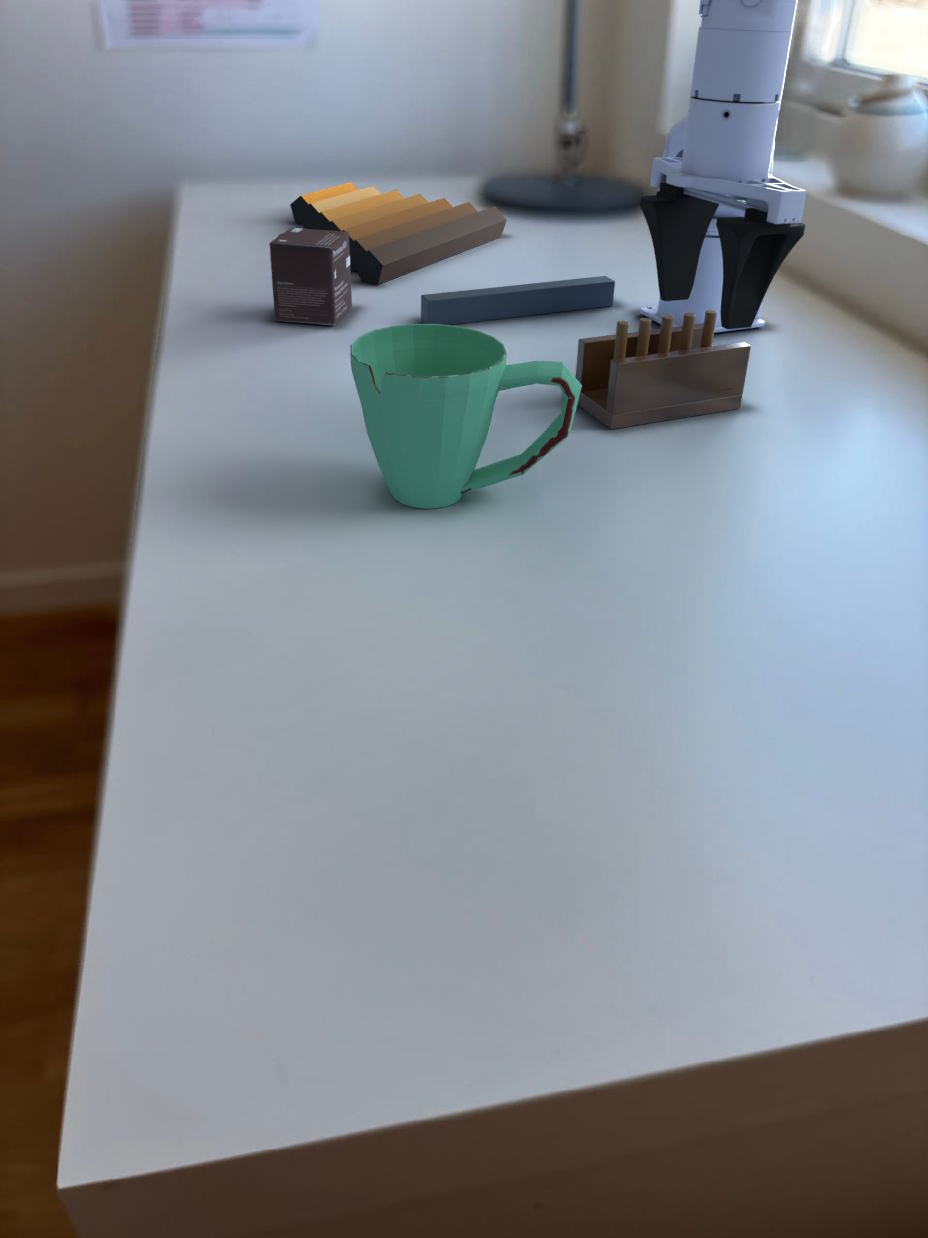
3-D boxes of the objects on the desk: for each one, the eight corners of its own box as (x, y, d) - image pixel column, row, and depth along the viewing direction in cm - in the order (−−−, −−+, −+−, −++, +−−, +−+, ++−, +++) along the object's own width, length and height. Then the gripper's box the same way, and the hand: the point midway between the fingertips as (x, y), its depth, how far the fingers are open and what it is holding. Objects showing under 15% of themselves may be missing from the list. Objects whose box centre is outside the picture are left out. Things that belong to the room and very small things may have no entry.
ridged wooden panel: (383, 285, 113) (506, 237, 131) (382, 252, 111) (507, 208, 129) (205, 247, 124) (340, 207, 142) (202, 216, 122) (339, 179, 140)
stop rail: (603, 300, 111) (605, 275, 110) (613, 305, 110) (615, 280, 108) (420, 320, 104) (420, 294, 103) (428, 327, 103) (428, 300, 101)
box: (334, 327, 102) (331, 247, 98) (273, 322, 103) (267, 241, 99) (353, 308, 107) (350, 230, 103) (294, 302, 108) (289, 226, 104)
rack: (698, 382, 92) (710, 297, 88) (740, 408, 88) (755, 320, 84) (573, 401, 88) (580, 313, 84) (610, 429, 84) (620, 337, 80)
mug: (342, 522, 70) (337, 372, 65) (365, 457, 78) (362, 319, 73) (572, 535, 69) (586, 385, 64) (570, 469, 78) (583, 330, 72)
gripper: (622, 88, 74) (603, 291, 81) (752, 111, 63) (716, 345, 70) (709, 88, 77) (683, 285, 84) (849, 111, 65) (805, 336, 72)
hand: (704, 312), depth 77 cm, fingers open, 7 cm apart
